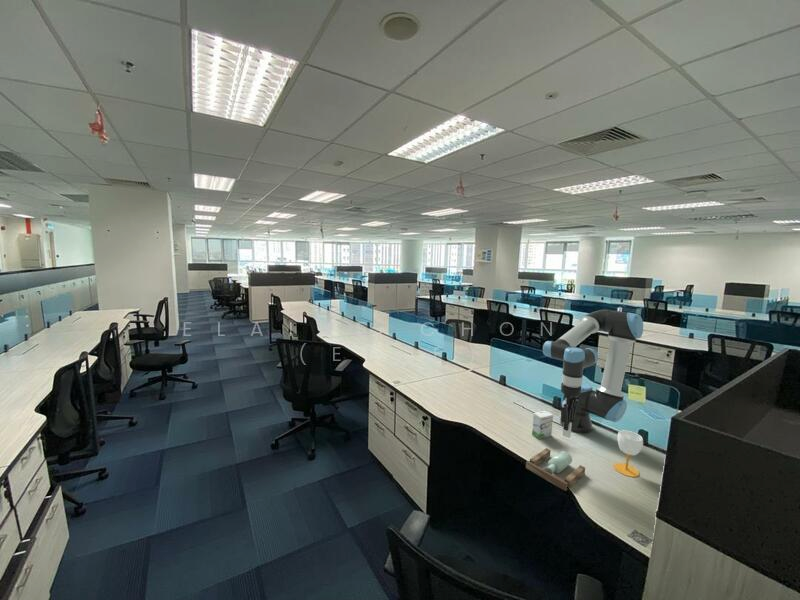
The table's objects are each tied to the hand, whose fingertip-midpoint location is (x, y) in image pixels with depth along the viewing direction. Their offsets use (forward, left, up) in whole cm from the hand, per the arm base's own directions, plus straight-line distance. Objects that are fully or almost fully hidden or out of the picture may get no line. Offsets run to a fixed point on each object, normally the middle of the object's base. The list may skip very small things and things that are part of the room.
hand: (566, 435), depth 140 cm
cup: (-18, +18, -14) cm, 29 cm away
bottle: (-1, 0, -11) cm, 11 cm away
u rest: (+8, 0, -13) cm, 16 cm away
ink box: (-14, -18, -14) cm, 27 cm away
